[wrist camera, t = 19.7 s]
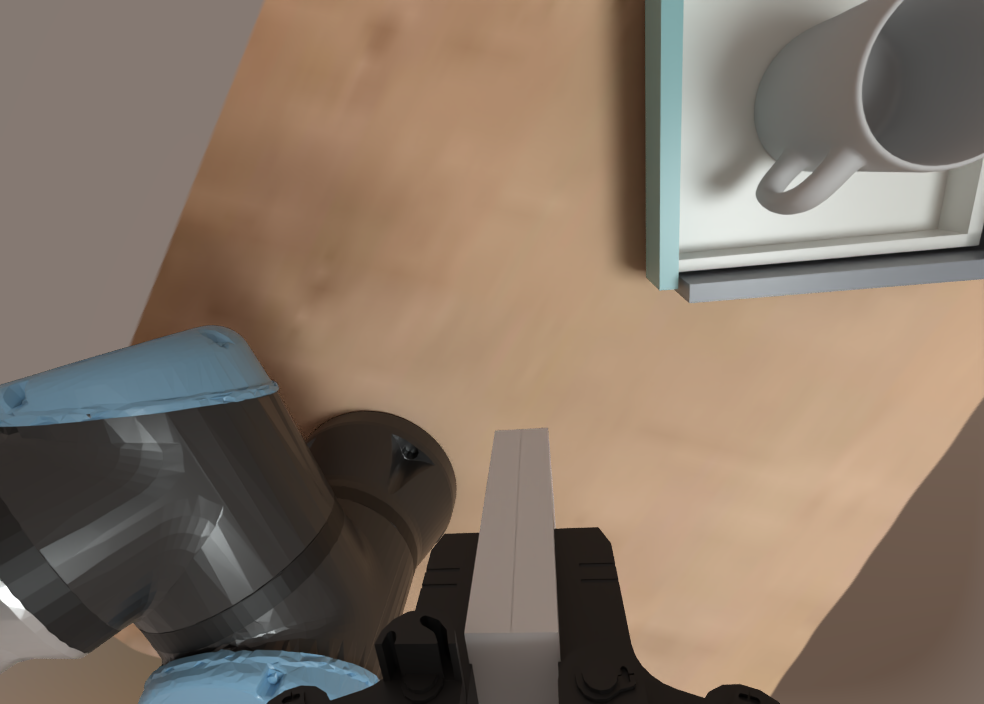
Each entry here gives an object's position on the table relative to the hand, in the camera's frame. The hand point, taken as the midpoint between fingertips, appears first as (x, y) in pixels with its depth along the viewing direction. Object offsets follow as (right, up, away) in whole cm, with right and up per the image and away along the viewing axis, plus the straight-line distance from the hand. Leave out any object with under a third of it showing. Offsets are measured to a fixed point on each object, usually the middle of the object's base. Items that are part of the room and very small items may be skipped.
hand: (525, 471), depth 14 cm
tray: (+19, +19, +18) cm, 32 cm away
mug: (+19, +18, +18) cm, 32 cm away
